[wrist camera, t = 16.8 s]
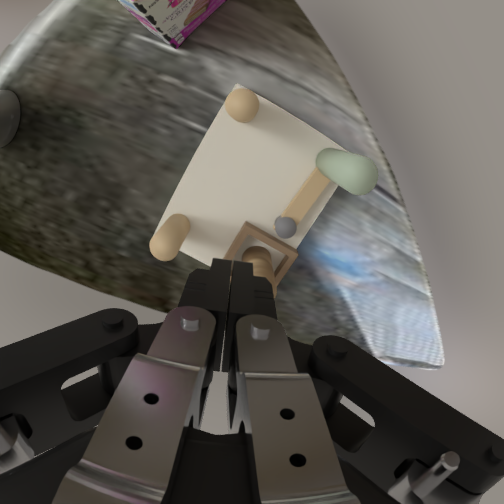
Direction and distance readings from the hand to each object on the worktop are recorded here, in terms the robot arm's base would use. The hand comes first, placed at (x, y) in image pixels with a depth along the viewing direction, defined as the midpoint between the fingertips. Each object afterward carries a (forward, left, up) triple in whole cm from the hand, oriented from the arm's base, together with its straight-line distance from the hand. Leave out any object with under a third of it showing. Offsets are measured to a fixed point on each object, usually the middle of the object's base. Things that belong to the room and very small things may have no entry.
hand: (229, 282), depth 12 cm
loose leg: (+7, -8, -24) cm, 26 cm away
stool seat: (+2, -1, -27) cm, 27 cm away
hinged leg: (+7, +3, -24) cm, 25 cm away
